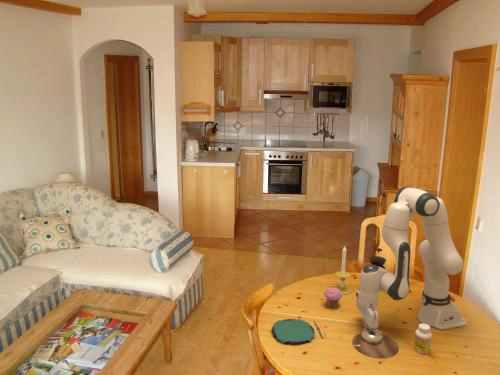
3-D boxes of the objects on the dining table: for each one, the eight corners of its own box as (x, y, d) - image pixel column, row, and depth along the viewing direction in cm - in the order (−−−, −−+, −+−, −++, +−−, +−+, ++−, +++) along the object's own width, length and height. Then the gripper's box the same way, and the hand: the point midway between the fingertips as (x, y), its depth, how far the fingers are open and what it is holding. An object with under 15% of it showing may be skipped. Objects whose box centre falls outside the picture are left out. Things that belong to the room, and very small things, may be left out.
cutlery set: (268, 323, 221) (268, 319, 221) (328, 320, 225) (328, 316, 225) (276, 347, 202) (276, 343, 202) (341, 344, 206) (341, 339, 206)
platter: (388, 333, 212) (388, 331, 212) (406, 359, 193) (406, 357, 193) (346, 334, 211) (346, 333, 210) (360, 361, 191) (360, 359, 191)
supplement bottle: (410, 352, 199) (413, 326, 196) (417, 346, 204) (420, 320, 200) (425, 359, 194) (428, 332, 191) (432, 352, 199) (435, 326, 196)
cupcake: (323, 309, 235) (324, 291, 232) (324, 301, 243) (324, 284, 240) (341, 311, 233) (342, 293, 231) (341, 302, 241) (342, 285, 239)
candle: (330, 286, 259) (332, 242, 253) (346, 285, 261) (349, 241, 254) (336, 295, 250) (339, 249, 243) (353, 293, 251) (357, 248, 245)
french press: (383, 283, 264) (386, 246, 259) (387, 290, 255) (390, 252, 249) (362, 282, 265) (365, 245, 259) (365, 290, 256) (368, 251, 250)
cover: (377, 333, 211) (378, 327, 210) (385, 344, 202) (385, 338, 201) (358, 333, 210) (359, 327, 209) (365, 345, 201) (365, 338, 201)
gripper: (383, 310, 200) (380, 338, 203) (367, 289, 220) (365, 315, 223) (369, 311, 199) (366, 339, 203) (354, 289, 219) (352, 315, 223)
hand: (366, 326), depth 213 cm, fingers closed
